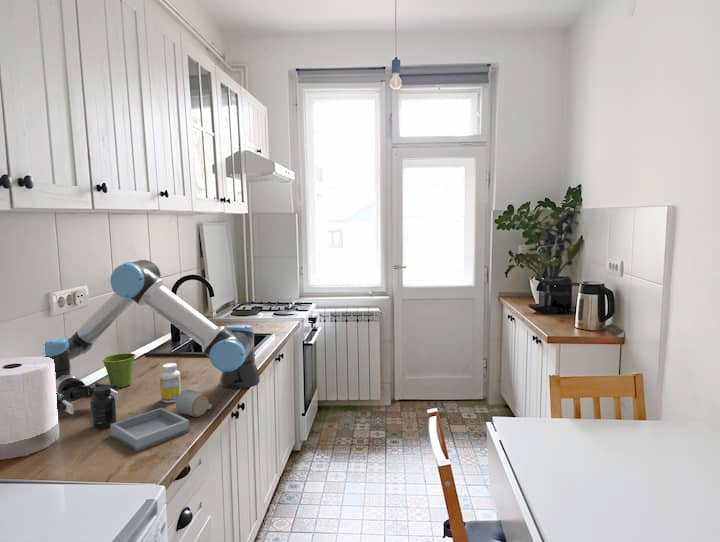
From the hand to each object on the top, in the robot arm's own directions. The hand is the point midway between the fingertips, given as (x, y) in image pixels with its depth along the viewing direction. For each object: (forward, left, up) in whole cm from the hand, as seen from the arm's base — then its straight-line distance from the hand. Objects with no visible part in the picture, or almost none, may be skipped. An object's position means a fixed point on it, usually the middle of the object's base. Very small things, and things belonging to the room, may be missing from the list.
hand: (95, 402), depth 148 cm
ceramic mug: (-24, +18, -7) cm, 31 cm away
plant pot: (-21, -29, -7) cm, 36 cm away
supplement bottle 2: (-25, +1, -7) cm, 25 cm away
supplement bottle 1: (0, +4, -7) cm, 8 cm away
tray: (-7, +21, -6) cm, 23 cm away
